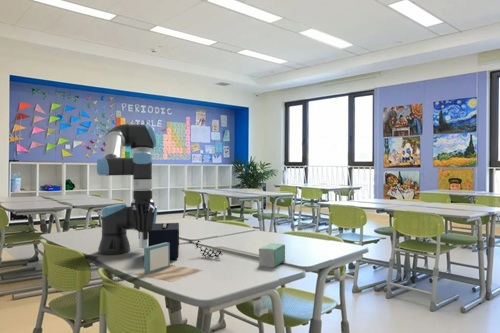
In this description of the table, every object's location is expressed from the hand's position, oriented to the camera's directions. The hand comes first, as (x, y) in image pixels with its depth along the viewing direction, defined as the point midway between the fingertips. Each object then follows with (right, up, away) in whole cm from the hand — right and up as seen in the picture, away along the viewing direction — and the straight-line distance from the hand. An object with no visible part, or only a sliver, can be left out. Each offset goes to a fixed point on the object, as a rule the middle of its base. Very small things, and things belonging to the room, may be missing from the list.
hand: (143, 247), depth 158 cm
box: (+54, -9, +9) cm, 55 cm away
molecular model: (+25, -9, +18) cm, 32 cm away
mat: (+12, -9, -7) cm, 16 cm away
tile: (+7, -8, -4) cm, 11 cm away
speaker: (+4, -9, +22) cm, 24 cm away
